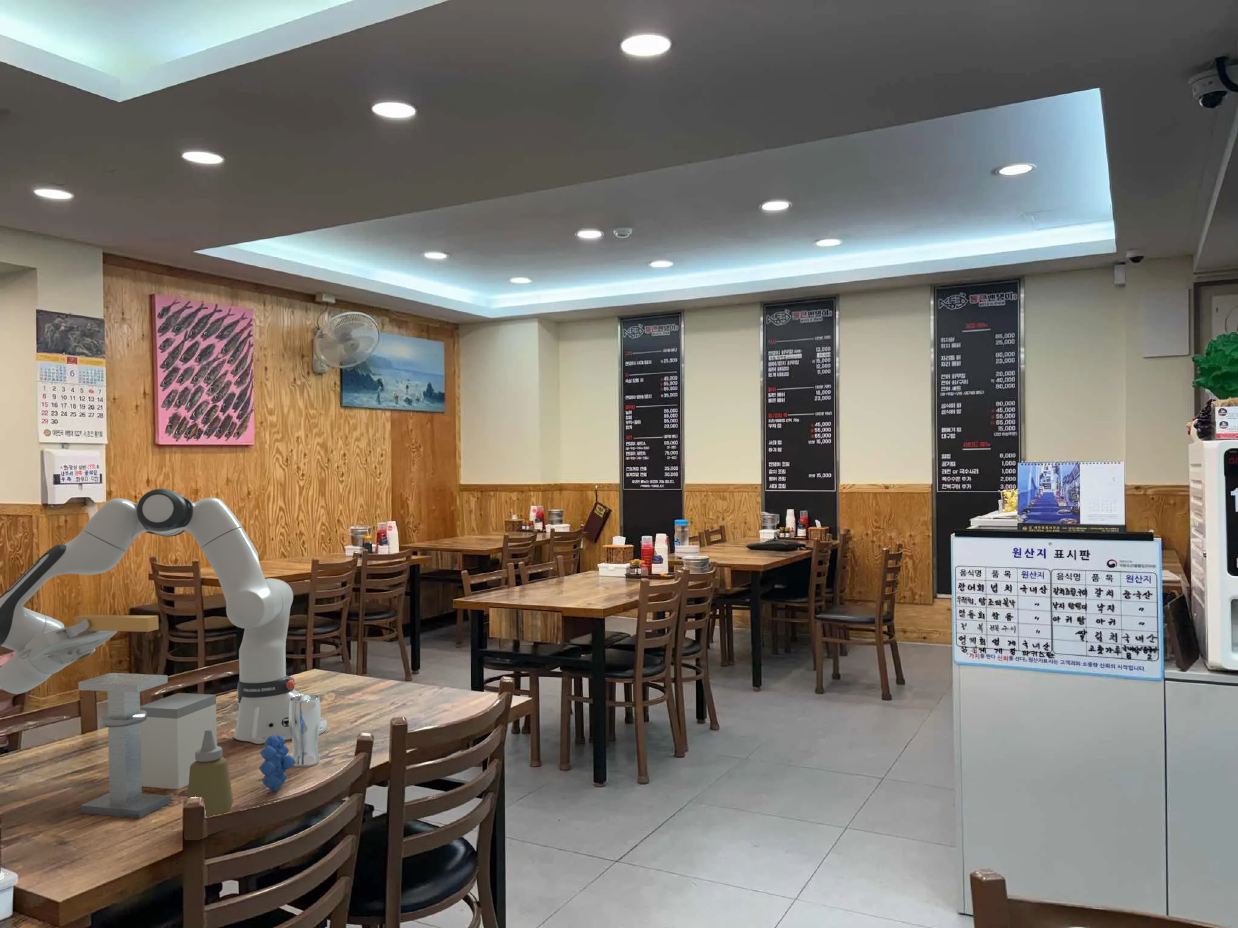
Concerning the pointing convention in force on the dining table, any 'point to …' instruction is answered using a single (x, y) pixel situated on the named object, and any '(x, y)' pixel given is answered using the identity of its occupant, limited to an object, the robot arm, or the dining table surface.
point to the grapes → (275, 762)
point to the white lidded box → (174, 737)
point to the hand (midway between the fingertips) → (97, 620)
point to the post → (124, 745)
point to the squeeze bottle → (211, 777)
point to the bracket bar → (120, 622)
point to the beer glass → (305, 728)
